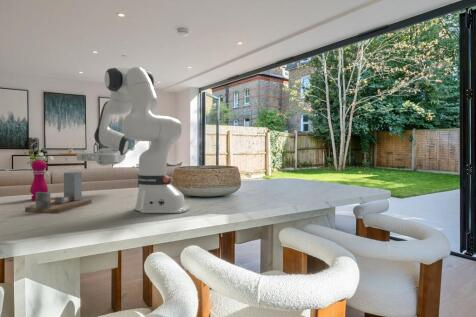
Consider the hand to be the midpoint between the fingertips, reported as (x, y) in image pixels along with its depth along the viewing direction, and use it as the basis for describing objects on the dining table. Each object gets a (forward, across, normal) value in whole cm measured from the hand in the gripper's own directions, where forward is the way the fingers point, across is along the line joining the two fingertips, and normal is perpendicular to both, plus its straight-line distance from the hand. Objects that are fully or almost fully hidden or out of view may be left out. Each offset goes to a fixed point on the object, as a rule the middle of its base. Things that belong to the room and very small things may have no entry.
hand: (89, 157), depth 157 cm
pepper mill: (+5, -22, +20) cm, 30 cm away
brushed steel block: (+15, 0, +18) cm, 23 cm away
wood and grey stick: (+21, -3, +18) cm, 28 cm away
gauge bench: (+20, 0, +20) cm, 28 cm away
